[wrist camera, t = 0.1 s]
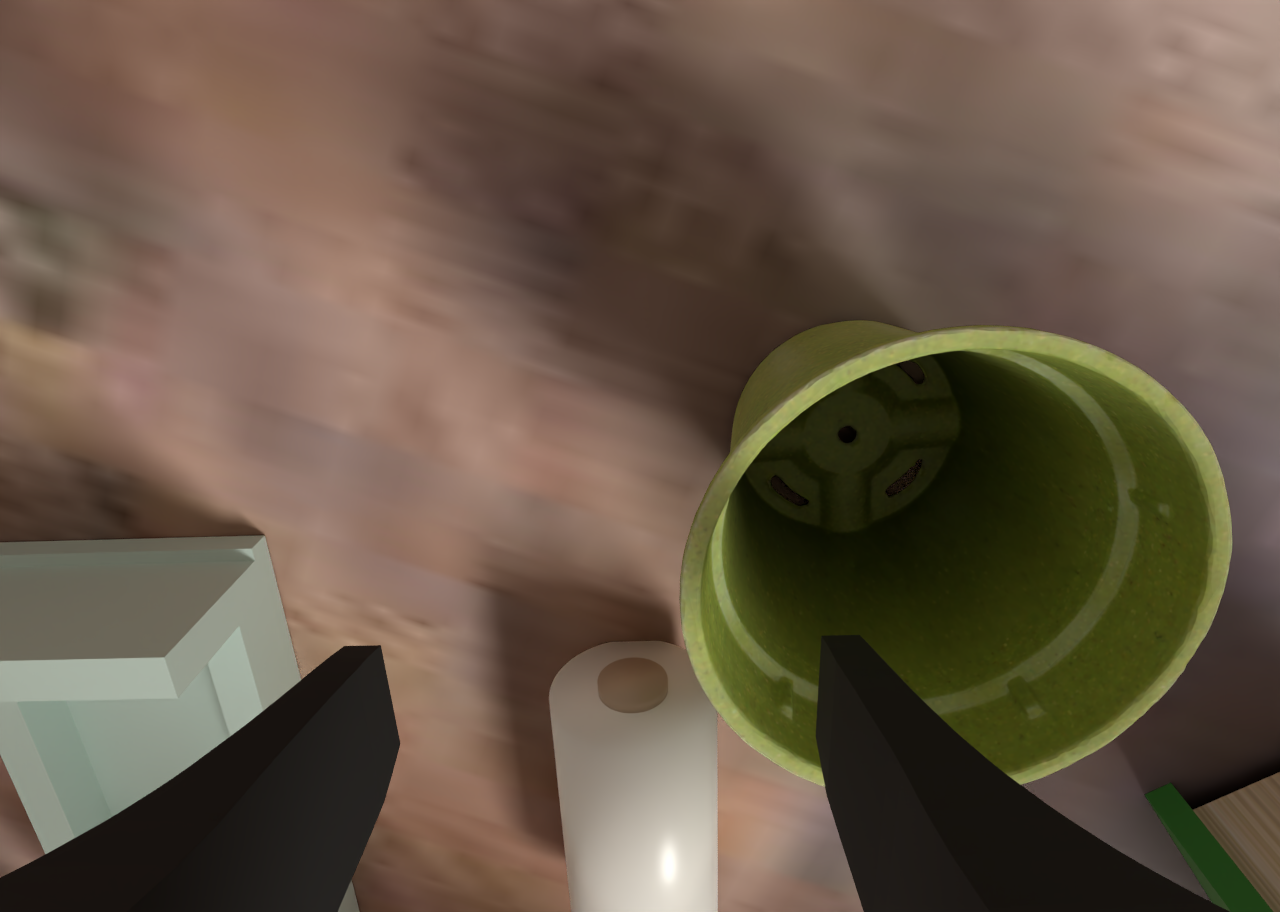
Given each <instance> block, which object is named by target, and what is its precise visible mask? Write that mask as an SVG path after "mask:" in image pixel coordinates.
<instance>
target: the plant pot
mask: <svg viewBox="0 0 1280 912" xmlns="http://www.w3.org/2000/svg"><path fill="white" fill-rule="evenodd" d="M907 360H909V361H913V362H915V363H917V364H918V366H919V367H920V368H921V370H922V371H923V373H924V375H925V378H924V382H923V383H922V384H915V382H914V381H913V380H912V378H911V377H909V376H908V375H907V374H906V373H905V372H904V371H903V369H901V368H900V367H898V366H897V365H896V363H899V362H903V361H907ZM845 426H851V427H852V428H853V429H855V430H856V438H855V439H854V440H853V441H852V442H850V443H844V442H842V441H841V440H840V439H839V437H838V435H837V434H838V432H839V430H840V429H841V428H843V427H845ZM920 459H921V460H922V461H921V468H920V470H919V472H918V474H917V475H916V477H915V479H914V480H913V481H912V482H911V483H910V484H909V486H908V487H906V488H905V489H903V490H902V491H901V492H899V493H898V494H895V495H892V496H888V495H887V494H886V493H885V491H886V489H887V488H888V487H889V486H890V485H892V484H893V483H894V482H895V481H896V480H898V479H899V478H901V476H903V475H904V474H905V473H906V472H907V471H908V470H909V468H910V467H912V466H913V467H914V466H915V464H916V461H917V460H920ZM773 476H778V477H779V478H780V479H781V480H782V481H783V482H784V483H785V484H786V485H787V486H788V487H789V488H790V489H791V490H792V491H794V492H796V493H797V494H798V495H799V496H802V497H803V498H805V499H807V500H808V501H809V502H808V504H806V505H802V506H798V505H795V504H793V503H791V502H790V501H788V500H787V499H785V498H784V497H782V496H781V495H779V494H778V493H777V492H776V491H775V490H774V489H773V488H772V486H771V485H772V484H771V481H770V480H771V478H772V477H773ZM1231 554H1232V523H1231V516H1230V507H1229V502H1228V497H1227V492H1226V488H1225V483H1224V478H1223V475H1222V472H1221V468H1220V466H1219V463H1218V460H1217V457H1216V455H1215V452H1214V450H1213V448H1212V446H1211V444H1210V442H1209V440H1208V439H1207V437H1206V436H1205V434H1204V432H1203V431H1202V429H1201V427H1200V426H1199V425H1198V423H1197V422H1196V421H1195V419H1194V418H1193V417H1192V415H1191V414H1190V413H1189V412H1188V411H1187V410H1186V408H1185V407H1184V406H1183V405H1182V404H1181V403H1180V402H1179V401H1178V400H1177V399H1176V398H1175V397H1174V396H1173V395H1172V394H1171V393H1170V392H1169V391H1168V390H1167V389H1166V388H1165V387H1163V386H1162V385H1161V384H1159V383H1158V382H1157V381H1156V380H1155V379H1154V378H1152V377H1151V376H1150V375H1148V374H1147V373H1145V372H1144V371H1142V370H1141V369H1140V368H1138V367H1136V366H1135V365H1133V364H1131V363H1129V362H1128V361H1126V360H1124V359H1122V358H1121V357H1118V356H1116V355H1114V354H1112V353H1110V352H1108V351H1106V350H1104V349H1101V348H1099V347H1096V346H1094V345H1091V344H1088V343H1086V342H1083V341H1080V340H1077V339H1074V338H1071V337H1067V336H1063V335H1059V334H1054V333H1049V332H1045V331H1040V330H1035V329H1031V328H1022V327H1011V326H992V325H974V326H959V327H950V328H942V329H934V330H929V331H924V332H920V333H917V332H913V331H910V330H906V329H903V328H900V327H896V326H892V325H888V324H885V323H881V322H876V321H866V320H853V321H843V322H836V323H830V324H825V325H820V326H817V327H814V328H811V329H808V330H806V331H804V332H801V333H799V334H797V335H795V336H794V337H792V338H790V339H789V340H787V341H786V342H784V343H783V344H781V345H780V346H779V347H777V348H776V349H775V350H774V351H772V352H771V353H770V354H769V355H768V356H767V357H766V358H765V359H764V360H763V361H762V362H761V363H760V365H759V366H758V367H757V369H756V370H755V371H754V373H753V374H752V375H751V377H750V379H749V380H748V382H747V384H746V386H745V388H744V390H743V392H742V394H741V396H740V399H739V401H738V404H737V408H736V412H735V416H734V422H733V427H732V437H731V447H730V453H729V455H728V456H727V457H726V459H725V460H724V462H723V463H722V465H721V466H720V468H719V470H718V471H717V473H716V475H715V476H714V478H713V480H712V481H711V483H710V485H709V487H708V489H707V491H706V493H705V495H704V497H703V500H702V502H701V504H700V506H699V508H698V510H697V512H696V515H695V517H694V520H693V523H692V526H691V529H690V533H689V536H688V540H687V543H686V546H685V550H684V555H683V561H682V568H681V576H680V613H681V626H682V632H683V637H684V642H685V646H686V650H687V653H688V657H689V660H690V662H691V665H692V668H693V671H694V673H695V675H696V678H697V680H698V682H699V684H700V685H701V687H702V689H703V691H704V692H705V694H706V696H707V697H708V699H709V700H710V702H711V704H712V705H713V707H714V708H715V709H716V710H717V712H718V713H719V714H720V716H721V717H722V718H723V719H724V721H725V722H726V723H727V724H728V725H729V727H730V728H731V729H732V730H733V731H734V732H735V733H737V734H738V736H739V737H740V738H741V739H742V740H743V741H745V742H746V743H747V744H748V745H749V746H751V747H752V748H753V749H755V750H756V751H758V752H759V753H760V754H762V755H763V756H765V757H766V758H768V759H769V760H771V761H772V762H774V763H775V764H777V765H779V766H780V767H782V768H784V769H786V770H787V771H789V772H790V773H792V774H794V775H796V776H799V777H801V778H803V779H806V780H808V781H811V782H813V783H815V784H818V785H821V786H825V783H824V778H823V773H822V768H821V763H820V758H819V752H818V747H817V741H816V719H817V702H818V685H819V668H820V651H821V636H828V635H860V636H861V637H862V638H863V639H864V640H865V641H866V642H867V643H868V644H869V645H870V646H871V647H872V648H873V649H874V650H875V651H876V652H877V653H878V654H879V655H880V657H881V658H882V659H883V660H884V661H885V662H886V663H887V664H888V665H889V666H890V667H891V668H892V669H893V670H894V671H895V672H896V673H897V674H898V676H899V677H900V678H901V679H902V680H903V681H904V682H905V683H906V684H907V685H908V686H909V687H910V688H911V689H912V690H913V691H914V692H915V693H916V694H917V695H918V696H919V697H920V698H921V699H922V700H923V701H924V702H925V703H926V704H927V705H928V706H929V707H930V708H931V709H932V710H933V711H934V712H935V713H937V714H938V715H939V716H940V717H941V718H942V719H943V720H944V721H945V722H946V723H947V724H948V725H949V726H950V727H951V728H952V729H953V730H954V731H956V732H957V733H958V734H959V735H960V736H961V737H962V738H963V739H965V740H966V741H967V742H968V743H969V744H970V745H972V746H973V747H974V748H975V749H976V750H977V751H979V752H980V753H981V754H982V755H983V756H984V757H986V758H987V759H988V760H989V761H990V762H992V763H993V764H994V765H995V766H997V767H998V768H999V769H1000V770H1002V771H1003V772H1004V773H1005V774H1007V775H1008V776H1009V777H1011V778H1012V779H1013V780H1015V781H1016V782H1017V783H1019V784H1020V785H1021V784H1024V783H1028V782H1031V781H1034V780H1037V779H1040V778H1042V777H1045V776H1047V775H1050V774H1052V773H1054V772H1056V771H1058V770H1060V769H1062V768H1065V767H1068V766H1069V765H1071V764H1073V763H1074V762H1076V761H1078V760H1079V759H1081V758H1083V757H1085V756H1087V755H1090V754H1092V753H1093V752H1095V751H1097V750H1098V749H1100V748H1102V747H1103V746H1105V745H1106V744H1108V743H1110V742H1111V741H1112V740H1114V739H1115V738H1116V737H1117V736H1118V735H1120V734H1121V733H1122V732H1123V731H1125V730H1126V729H1127V728H1128V727H1130V726H1131V725H1132V724H1133V723H1134V722H1135V721H1136V720H1138V719H1139V718H1140V717H1141V716H1143V715H1144V714H1145V713H1146V712H1147V711H1148V709H1149V708H1150V707H1151V706H1152V705H1153V704H1154V703H1156V702H1157V701H1158V700H1159V699H1160V698H1161V697H1162V696H1163V695H1164V694H1165V693H1166V692H1167V691H1168V690H1169V688H1170V687H1171V686H1172V685H1173V684H1174V683H1175V681H1176V680H1177V678H1178V677H1179V676H1180V675H1181V674H1182V672H1183V671H1184V670H1185V667H1186V665H1187V663H1188V662H1189V660H1190V659H1191V658H1192V657H1193V655H1194V654H1195V652H1196V650H1197V648H1198V647H1199V645H1200V643H1201V642H1202V640H1203V639H1204V638H1205V637H1206V634H1207V632H1208V630H1209V628H1210V626H1211V624H1212V622H1213V619H1214V617H1215V615H1216V613H1217V610H1218V607H1219V603H1220V600H1221V598H1222V595H1223V593H1224V589H1225V585H1226V580H1227V576H1228V572H1229V563H1230V559H1231Z"/></svg>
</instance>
